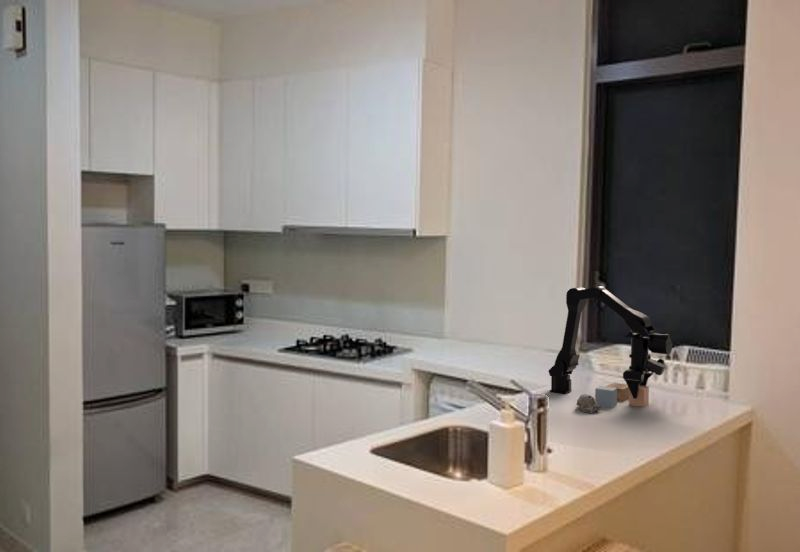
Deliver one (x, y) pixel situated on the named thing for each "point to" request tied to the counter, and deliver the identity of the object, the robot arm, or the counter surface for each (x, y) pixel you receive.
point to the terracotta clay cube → (640, 397)
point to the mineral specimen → (588, 404)
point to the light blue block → (606, 396)
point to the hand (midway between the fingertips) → (638, 395)
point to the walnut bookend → (620, 391)
